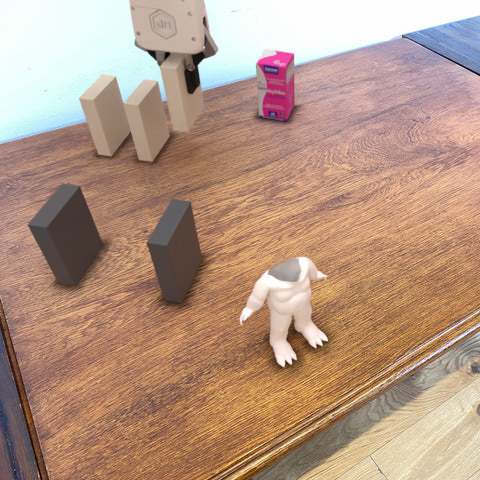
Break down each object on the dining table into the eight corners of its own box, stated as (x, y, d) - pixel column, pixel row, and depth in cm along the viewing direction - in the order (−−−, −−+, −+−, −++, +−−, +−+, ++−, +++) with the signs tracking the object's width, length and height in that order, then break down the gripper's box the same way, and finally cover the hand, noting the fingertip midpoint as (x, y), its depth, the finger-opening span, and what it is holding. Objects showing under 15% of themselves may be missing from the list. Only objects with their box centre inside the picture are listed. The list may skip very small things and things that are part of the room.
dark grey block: (58, 283, 69) (26, 224, 61) (87, 241, 75) (62, 183, 67) (75, 286, 69) (46, 227, 61) (103, 244, 74) (80, 185, 66)
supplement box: (258, 118, 99) (254, 62, 91) (267, 102, 103) (264, 47, 95) (287, 123, 98) (285, 66, 90) (295, 107, 102) (294, 51, 94)
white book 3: (173, 130, 83) (159, 66, 75) (190, 105, 88) (179, 43, 80) (187, 132, 82) (175, 68, 75) (204, 106, 88) (194, 44, 80)
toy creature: (264, 382, 60) (258, 321, 51) (239, 345, 63) (229, 282, 54) (346, 333, 65) (353, 270, 56) (318, 301, 68) (320, 237, 59)
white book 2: (138, 160, 89) (122, 103, 81) (157, 134, 94) (143, 79, 86) (152, 161, 88) (137, 105, 80) (170, 136, 94) (158, 80, 86)
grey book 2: (164, 300, 67) (146, 242, 60) (185, 257, 73) (172, 198, 65) (182, 303, 67) (166, 245, 59) (202, 259, 73) (190, 201, 65)
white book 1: (98, 154, 89) (78, 98, 81) (118, 129, 95) (102, 74, 87) (111, 156, 89) (93, 99, 81) (131, 131, 95) (116, 75, 87)
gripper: (90, -33, 67) (125, 95, 80) (210, -22, 65) (225, 106, 78) (116, -50, 72) (145, 72, 85) (227, -41, 70) (239, 83, 83)
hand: (183, 87), depth 81 cm, fingers closed on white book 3, 2 cm apart
